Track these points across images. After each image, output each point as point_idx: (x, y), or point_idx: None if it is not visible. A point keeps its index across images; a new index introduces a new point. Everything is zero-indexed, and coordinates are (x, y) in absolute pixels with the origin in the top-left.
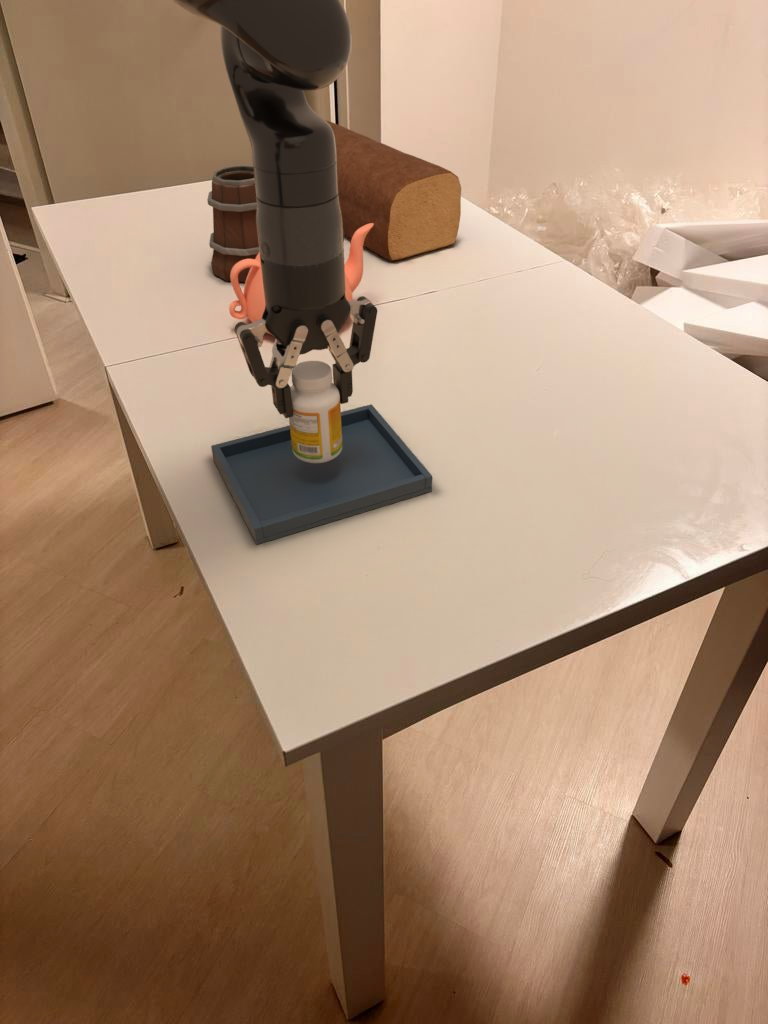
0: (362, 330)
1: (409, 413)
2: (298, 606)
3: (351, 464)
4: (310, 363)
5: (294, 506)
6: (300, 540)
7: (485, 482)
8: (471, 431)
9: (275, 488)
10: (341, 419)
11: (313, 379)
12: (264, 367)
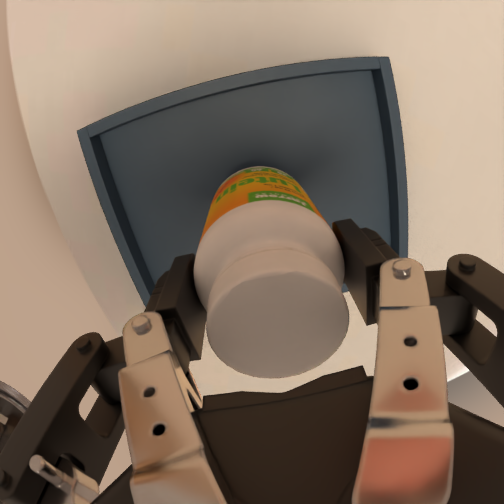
0: (499, 395)
1: (430, 72)
2: (208, 382)
3: (313, 190)
4: (286, 292)
5: None
6: None
7: (450, 257)
8: (482, 152)
9: (182, 226)
10: (325, 73)
11: (274, 375)
12: (120, 432)
